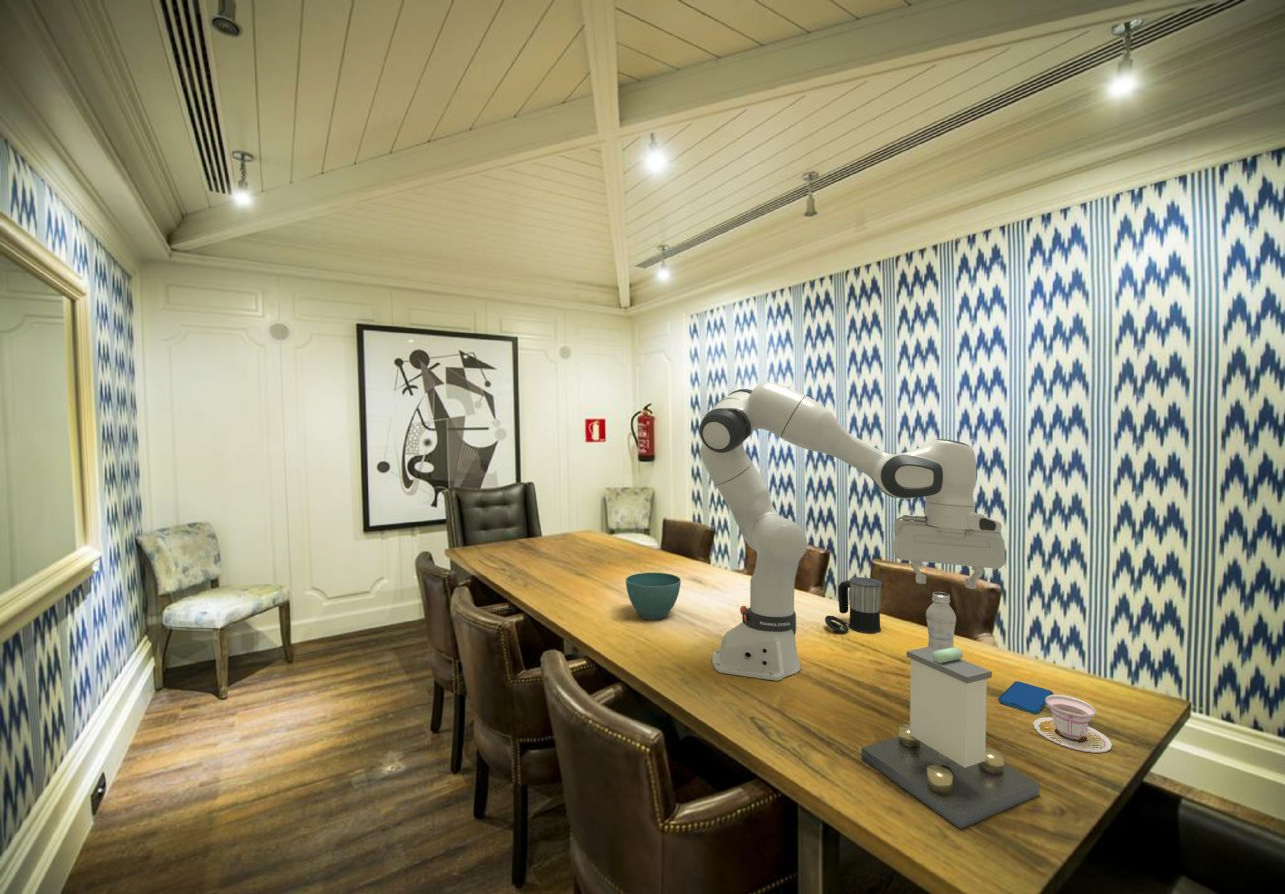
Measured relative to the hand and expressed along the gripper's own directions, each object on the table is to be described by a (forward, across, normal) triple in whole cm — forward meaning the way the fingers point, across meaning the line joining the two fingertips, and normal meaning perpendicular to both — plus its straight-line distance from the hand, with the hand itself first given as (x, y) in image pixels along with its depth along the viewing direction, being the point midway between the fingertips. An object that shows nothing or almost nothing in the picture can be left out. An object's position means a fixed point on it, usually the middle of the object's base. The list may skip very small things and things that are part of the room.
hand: (945, 585), depth 108 cm
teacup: (+27, +24, 0) cm, 36 cm away
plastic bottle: (+27, +9, +25) cm, 38 cm away
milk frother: (+27, -6, +54) cm, 60 cm away
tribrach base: (+29, -5, -18) cm, 35 cm away
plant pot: (+30, -68, +55) cm, 93 cm away
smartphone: (+27, +24, +16) cm, 39 cm away
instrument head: (+27, -5, -18) cm, 33 cm away
